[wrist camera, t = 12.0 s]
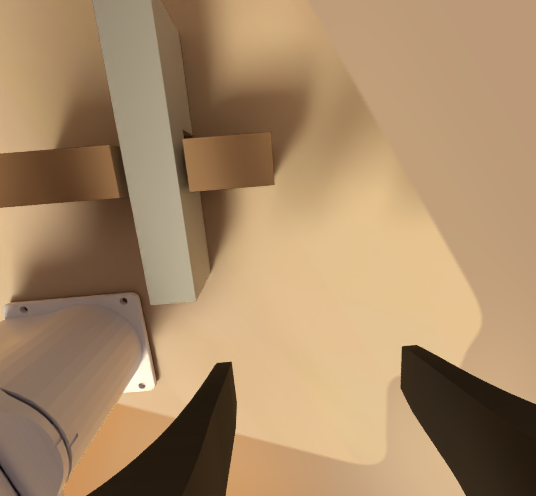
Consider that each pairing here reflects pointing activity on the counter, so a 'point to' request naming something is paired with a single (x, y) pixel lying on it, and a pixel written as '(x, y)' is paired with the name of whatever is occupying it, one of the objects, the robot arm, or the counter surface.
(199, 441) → the robot arm
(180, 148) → the grey rectangular bar
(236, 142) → the brown flat bar
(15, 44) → the counter surface
